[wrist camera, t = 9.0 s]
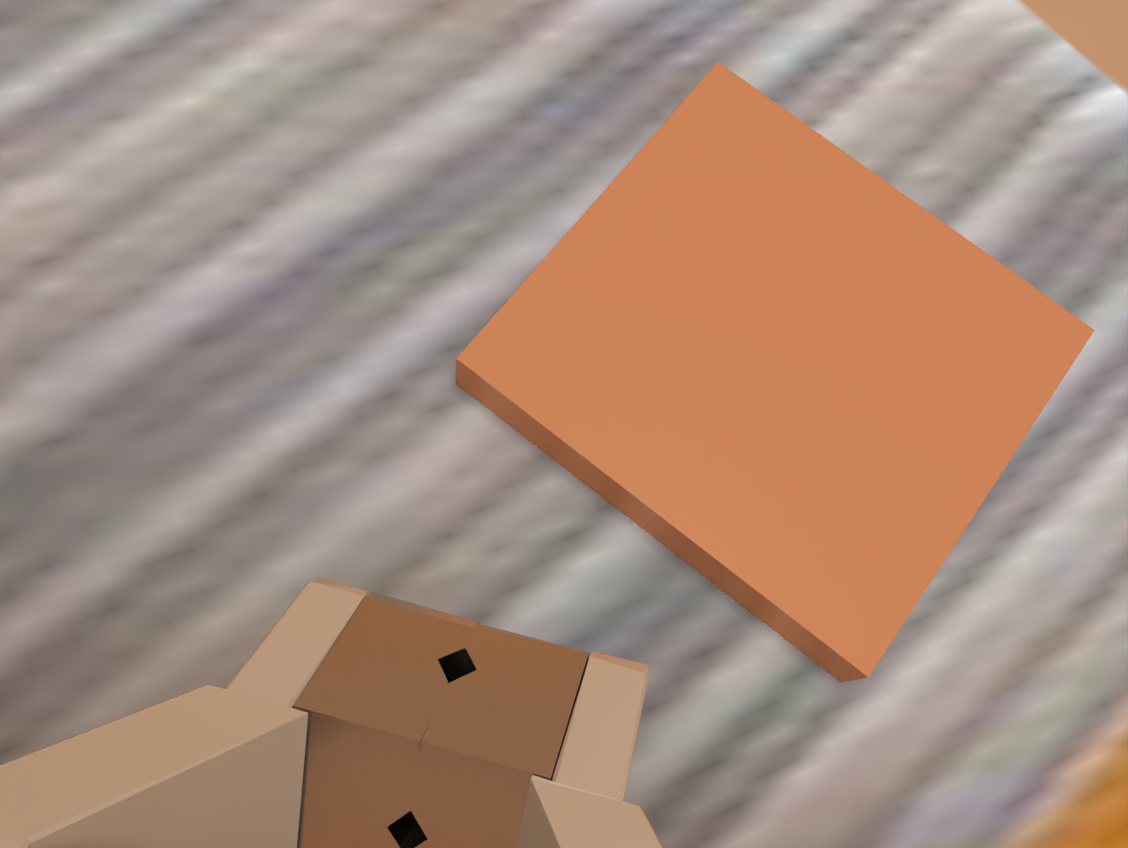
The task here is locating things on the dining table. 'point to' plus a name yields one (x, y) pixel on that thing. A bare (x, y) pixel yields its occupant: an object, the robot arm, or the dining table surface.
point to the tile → (777, 369)
